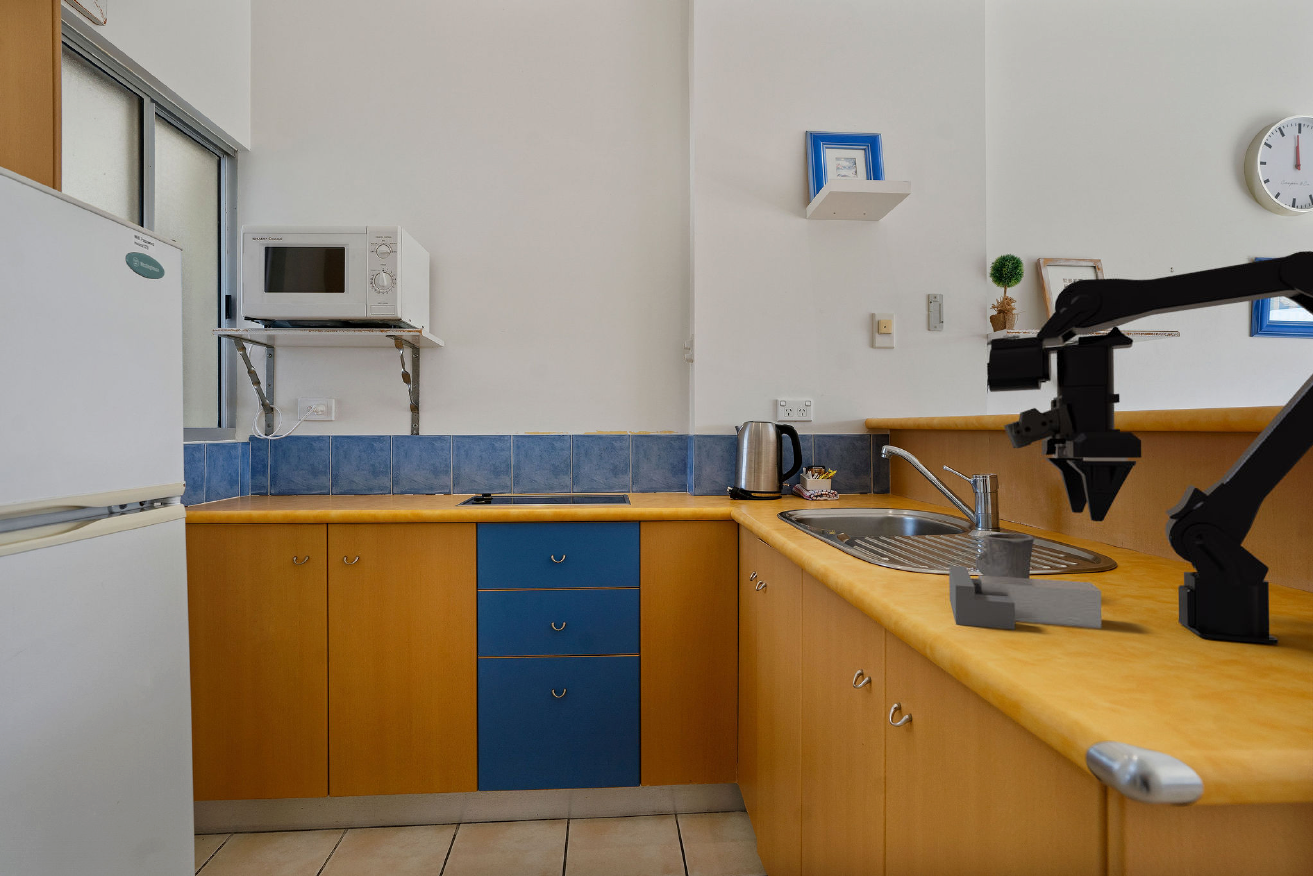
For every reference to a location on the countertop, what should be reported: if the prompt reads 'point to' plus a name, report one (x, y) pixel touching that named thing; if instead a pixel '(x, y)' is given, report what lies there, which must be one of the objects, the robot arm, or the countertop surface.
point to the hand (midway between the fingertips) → (1086, 516)
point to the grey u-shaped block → (978, 603)
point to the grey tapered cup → (1006, 555)
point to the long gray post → (1047, 600)
